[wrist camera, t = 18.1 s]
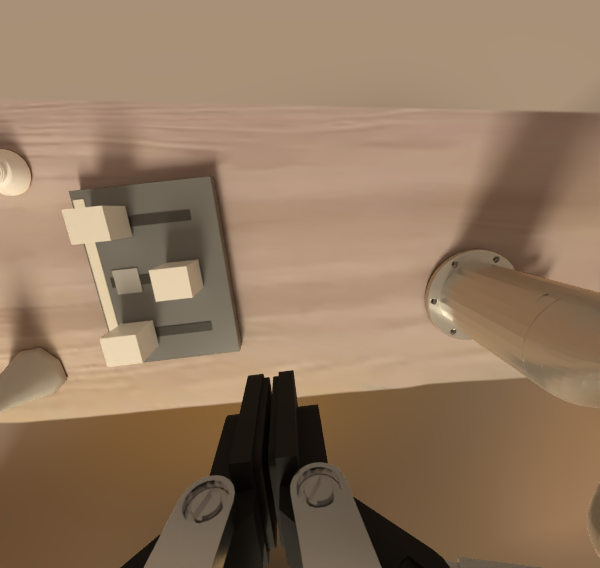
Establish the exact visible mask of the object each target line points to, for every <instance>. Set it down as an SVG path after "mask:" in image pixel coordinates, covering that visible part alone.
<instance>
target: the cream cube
mask: <svg viewBox="0 0 600 568" xmlns="http://www.w3.org/2000/svg"><path fill="white" fill-rule="evenodd" d="M100 343H101V346H102V350H103V353H104V356H105V360H106V363H107V367H112V366H121V365H129V364H137V363H143V362H144V361H145V360H146V359H147V358H148V357H149V356H150V355H151V353H152V352H153V351H154V350H155V349H156V348H157V347H158V346H159V344H158V340H157V336H156V332H155V327H154V323H153V320H150V321H141V322H132V323H124V324H120V325H118V326H117V327H116V328H114V329H113V330H111V331H110V332H108V333H107V334H106V335H104V336H103V337H101V338H100Z"/></svg>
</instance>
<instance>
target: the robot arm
mask: <svg viewBox="0 0 600 568" xmlns="http://www.w3.org/2000/svg"><path fill="white" fill-rule="evenodd" d="M452 262H453V264H452ZM431 300H432V301H431ZM425 305H426V311H427V313H428V316H429V318H430V320H431V321H432V323H433V324H434V325H435V326H436V327H437V328H438V329H439V330H440V331H442V332H443V333H444V334H446V335H448V336H450V337H453V338H457V339H463V340H470V339H473V340H474V341H476V342H477V343H479V344H480V345H481V346H483V347H484V348H486V349H487V350H489V351H490V352H491V353H493V354H494V355H496V356H497V357H499V358H500V359H501V360H503V361H504V362H506V363H507V364H509V365H510V366H512V367H513V368H514V369H516V370H517V371H519V372H520V373H522V374H523V375H524V376H526V377H527V378H529V379H530V380H532V381H533V382H535V383H536V384H537V385H539V386H541V387H542V388H543V389H545V390H546V391H548V392H549V393H551V394H553V395H555V396H556V397H558V398H560V399H562V400H565V401H567V402H570V403H573V404H576V405H580V406H585V407H593V408H600V293H599V292H595V291H591V290H587V289H584V288H580V287H576V286H572V285H569V284H565V283H561V282H557V281H554V280H550V279H546V278H542V277H539V276H535V275H531V274H527V273H524V272H520V271H516V270H515V268H514V267H513V265H512V264H511V263H510V262H509V261H508V259H506V258H505V257H503V256H502V255H500V254H498V253H495V252H493V251H489V250H482V249H472V250H466V251H463V252H459V253H457V254H455V255H453V256H451V257H450V258H448V259H447V260H446V261H444V262H443V263H442V264H441V265H440V266H439V267H438V268H437V269H436V271H435V272H434V274H433V275H432V277H431V278H430V281H429V283H428V285H427V289H426V293H425ZM277 522H278V528H279V534H280V540H281V547H282V548H285V551H286V557H287V563H288V565H289V566H290V567H291V568H540V567H533V566H525V565H517V564H510V563H502V562H495V561H487V560H480V559H471V558H465V557H458V562H452V561H445V560H444V559H443V558H442V557H441V556H439V554H437V553H436V552H435V551H434V550H432V549H431V548H429V547H428V546H427V545H425V544H424V543H422V542H421V541H419V540H417V539H416V538H414V537H413V536H412V535H410V534H409V533H407V532H405V531H404V530H402V529H401V528H399V527H398V526H396V525H395V524H393V523H392V522H390V521H389V520H387V519H386V518H384V517H383V516H381V515H380V514H378V513H377V512H375V511H374V510H372V509H371V508H369V507H368V506H366V505H365V504H363V503H362V502H360V501H359V500H357V499H356V498H354V497H353V496H352V493H351V491H350V488H349V486H348V483H347V481H346V478H345V477H344V475H343V473H342V472H341V471H340V470H339V469H338V468H337V467H335V466H333V465H331V464H328V462H327V456H326V450H325V444H324V438H323V432H322V426H321V420H320V414H319V408H318V405H309V406H301V407H298V404H297V395H296V387H295V379H294V372H293V370H292V371H284V372H279V376H275V377H273V389H272V391H271V384H270V378H269V377H267V378H264V375H263V374H259V375H250V376H248V378H247V383H246V387H245V392H244V396H243V401H242V405H241V410H240V414H235V415H228V416H227V417H226V420H225V423H224V427H223V431H222V434H221V438H220V441H219V445H218V448H217V452H216V455H215V459H214V462H213V466H212V469H211V473H210V476H208V477H205V478H202V479H200V480H198V481H196V482H195V483H193V484H192V485H191V486H190V487H189V488H187V489H186V490H185V491H184V493H183V494H182V496H181V497H180V499H179V500H178V502H177V504H176V506H175V508H174V510H173V512H172V514H171V516H170V518H169V520H168V522H167V523H166V525H165V527H164V529H163V531H162V533H161V534H160V535H159V536H158V537H156V538H155V539H154V540H153V541H152V542H151V543H149V544H148V545H147V546H146V547H145V548H143V549H142V550H141V551H140V552H139V553H138V554H136V555H135V556H134V557H133V558H131V559H130V560H129V561H128V562H127V563H126V564H124V565H123V566H122V567H121V568H263V566H265V565H269V551H270V549H276V543H277ZM587 528H588V534H589V537H590V540H591V542H592V545H593V547H594V549H595V551H596V553H597V554H598V556H599V557H600V481H599V483H598V485H597V487H596V490H595V492H594V494H593V497H592V499H591V502H590V504H589V507H588V512H587Z"/></svg>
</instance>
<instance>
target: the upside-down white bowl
mask: <svg viewBox="0 0 600 568" xmlns="http://www.w3.org/2000/svg"><path fill="white" fill-rule="evenodd" d="M30 182H31V173H30V169H29V167H28V165H27V164H26V162H25V161H24V160H23V159H22V158H21V157H20V156H19V155H18V154H16V153H14V152H12V151H10V150H5V149H0V193H1V194H3V195H13V196H17V195H19V194H22V193H24V192H25V191H26V190H27V189H28V188H29V186H30Z"/></svg>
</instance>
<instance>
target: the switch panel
mask: <svg viewBox="0 0 600 568" xmlns="http://www.w3.org/2000/svg"><path fill="white" fill-rule="evenodd" d="M69 194H70V197H71V201H72V204H73V208H74V209H75V208H84V207H94V206H125V208H126V212H127V216H128V220H129V224H130V228H131V232H132V236H133V237H128V238H123V239H117V240H112V241H103V242H94V243H85V244H84V247H85V250H86V254H87V257H88V261H89V264H90V268H91V271H92V275H93V278H94V282H95V285H96V289H97V293H98V296H99V300H100V303H101V307H102V310H103V314H104V317H105V321H106V324H107V328H108V331H109V332H110V331H111V330H113V329H114V328H116V327H117V326H118V325H120V324H124V323H132V322H141V321H150V320H153V323H154V327H155V332H156V336H157V340H158V344H159V346H158V347H157V348H156V349H155V350H154V351H153V352H152V353H151V355H150V356H149V357H148V358H147V359H146V360H145V361H144V362H152V361H160V360H169V359H177V358H186V357H194V356H203V355H211V354H220V353H228V352H236V351H240V348H241V345H242V343H241V337H240V331H239V325H238V319H237V313H236V307H235V301H234V295H233V289H232V283H231V277H230V271H229V265H228V259H227V253H226V247H225V241H224V235H223V229H222V223H221V217H220V211H219V205H218V199H217V193H216V187H215V181H214V178H213V177H210V176H209V177H199V178H190V179H180V180H171V181H162V182H152V183H143V184H133V185H124V186H114V187H105V188H95V189H86V190H77V191H69ZM196 259H198V261H199V266H200V271H201V276H202V282H203V288H202V289H201V290H200V291H199V292H198V293H197V294H196V295H195V296H194V297H193V298H185V299H176V300H167V301H158V302H156V300H155V296H154V292H153V287H152V283H151V279H150V275H149V270H151V269H153V268H155V267H157V266H159V265H162V264H164V263H170V262H179V261H187V260H196Z"/></svg>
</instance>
